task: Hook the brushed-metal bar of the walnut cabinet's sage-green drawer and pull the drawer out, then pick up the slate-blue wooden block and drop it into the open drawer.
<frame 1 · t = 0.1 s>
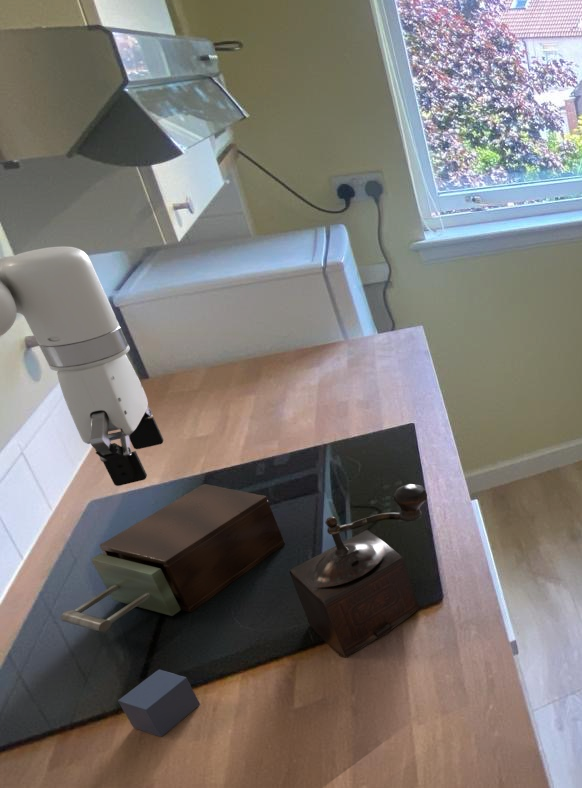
hand: (141, 463, 98), 21 cm above the worktop, tool pointing down, fingers open, 9 cm apart
drawer: (159, 569, 102), point 5 cm above the worktop, slide at 0.5 cm
block: (167, 716, 86), on the worktop
cabinet: (208, 568, 109), on the worktop
manual coffee grinder: (385, 607, 101), on the worktop
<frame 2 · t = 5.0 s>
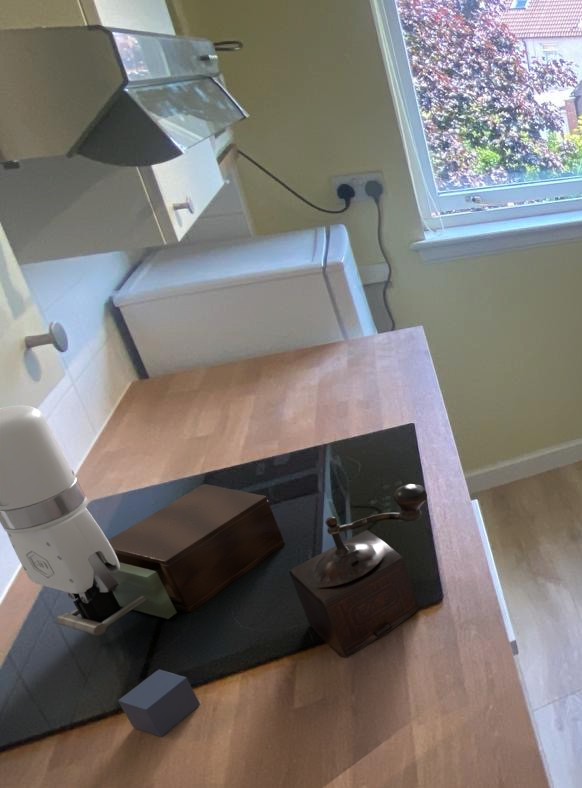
hand: (104, 617, 96), 3 cm above the worktop, tool pointing down, fingers closed
drawer: (155, 572, 102), point 5 cm above the worktop, slide at 1.1 cm, touching gripper
everything else where it was.
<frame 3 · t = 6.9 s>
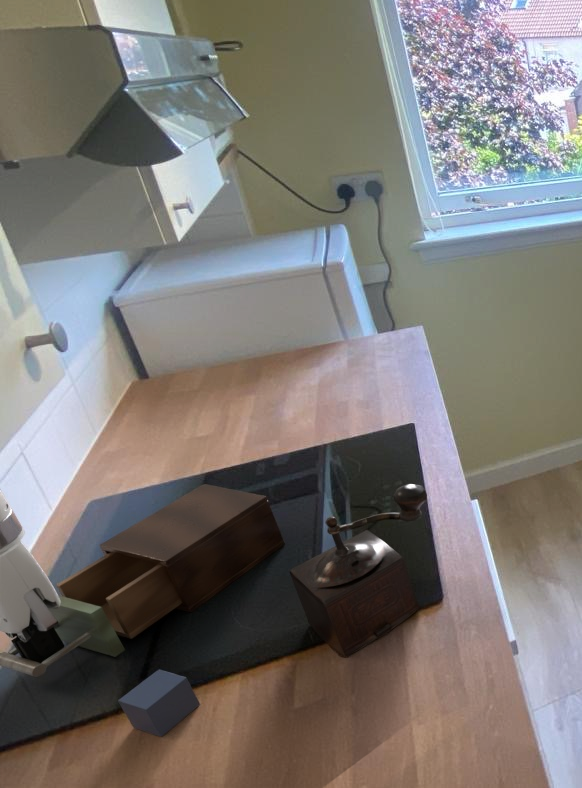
hand: (45, 655, 91), 3 cm above the worktop, tool pointing down, fingers closed
drawer: (102, 606, 96), point 5 cm above the worktop, slide at 7.6 cm, touching gripper
everything else where it was.
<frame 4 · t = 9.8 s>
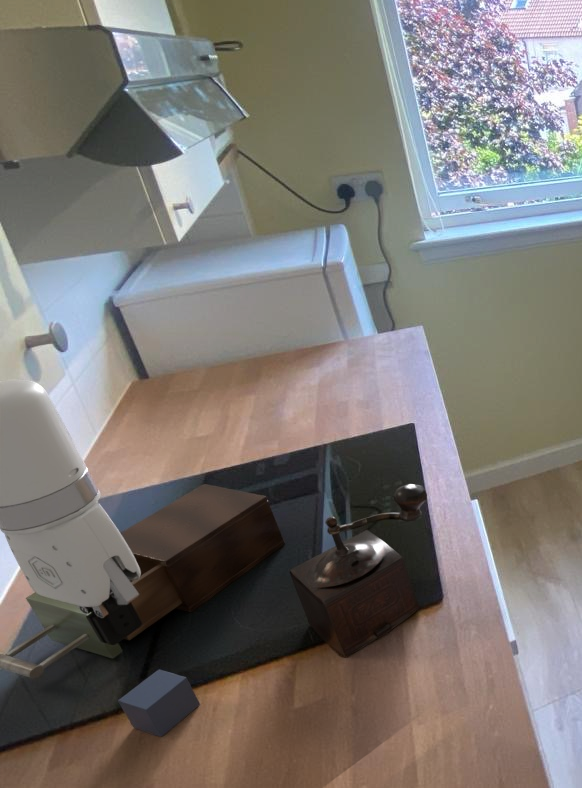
hand: (122, 634, 81), 13 cm above the worktop, tool pointing down, fingers closed
drawer: (100, 607, 96), point 5 cm above the worktop, slide at 7.8 cm
everything else where it was.
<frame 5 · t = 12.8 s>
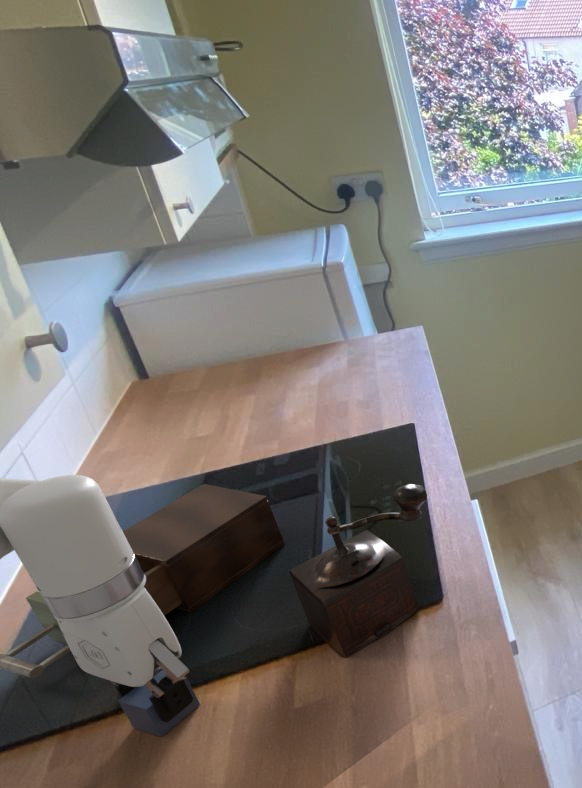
hand: (161, 704, 85), 2 cm above the worktop, tool pointing down, fingers closed on block, 4 cm apart
block: (167, 716, 86), on the worktop, touching gripper
everything else where it was.
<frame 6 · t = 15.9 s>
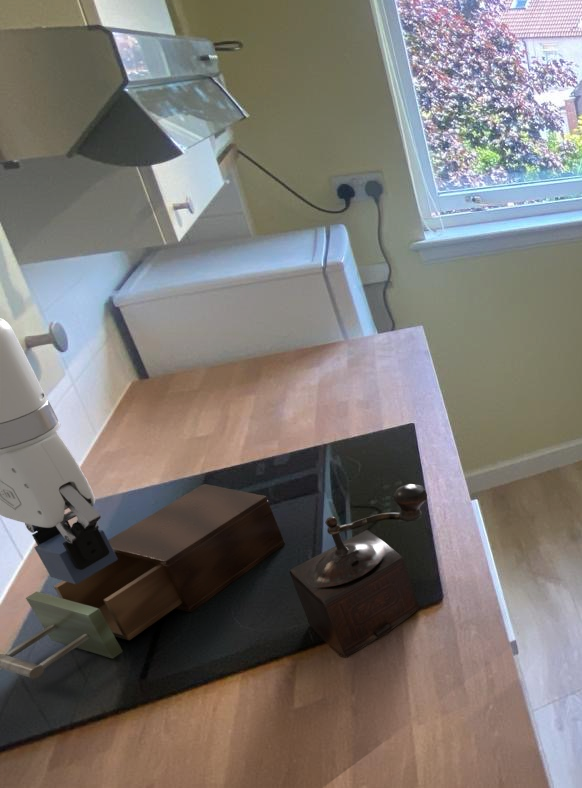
hand: (78, 556, 88), 16 cm above the worktop, tool pointing down, fingers closed on block, 4 cm apart
block: (85, 568, 88), point 14 cm above the worktop, touching gripper
everything else where it was.
when the fingers open (8 cm above the worktop, at t = 19.0 s): block drops 4 cm, resting on drawer.
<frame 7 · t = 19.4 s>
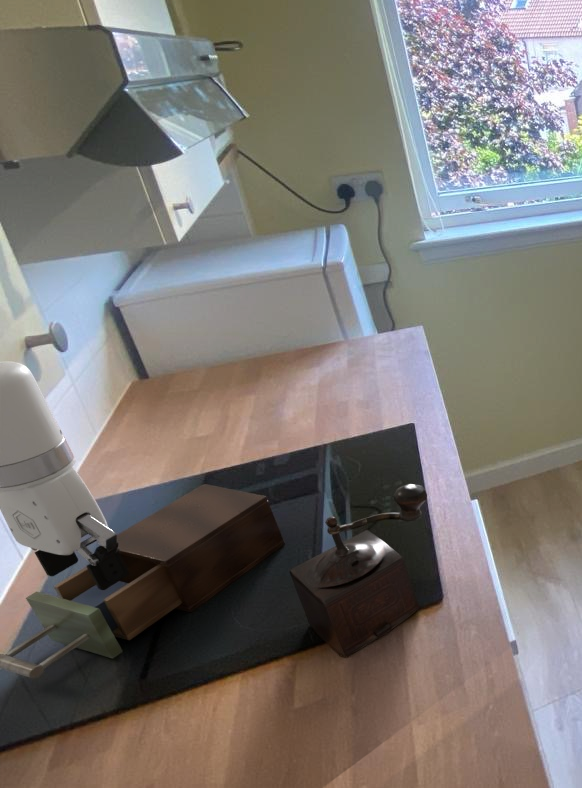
hand: (89, 575, 94), 10 cm above the worktop, tool pointing down, fingers open, 8 cm apart
drawer: (100, 607, 96), point 5 cm above the worktop, slide at 7.8 cm, touching block
block: (114, 618, 97), point 2 cm above the worktop, touching drawer
everything else where it was.
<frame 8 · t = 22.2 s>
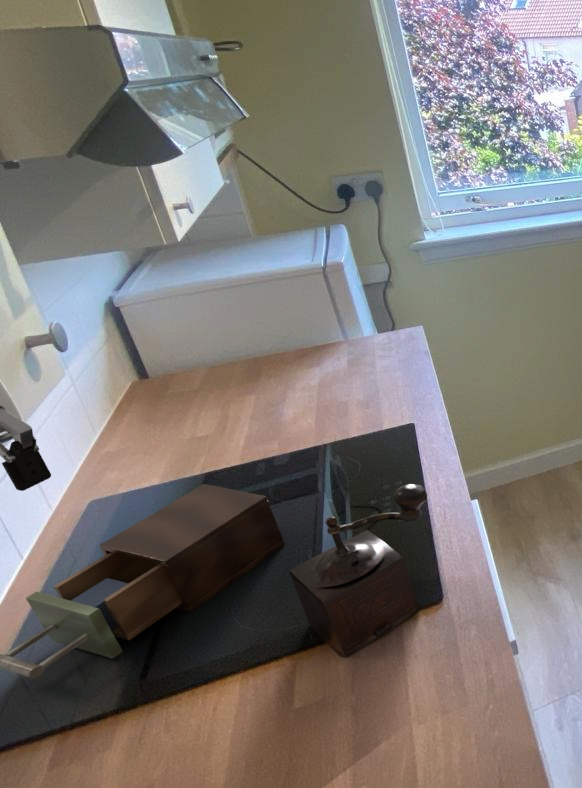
hand: (7, 478, 89), 24 cm above the worktop, tool pointing down, fingers open, 9 cm apart
nothing on the worktop moved.
at the end: drawer slide at 7.8 cm; block inside the target area in the drawer (0.7 cm from its centre), point 2.0 cm above the cabinet's base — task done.
